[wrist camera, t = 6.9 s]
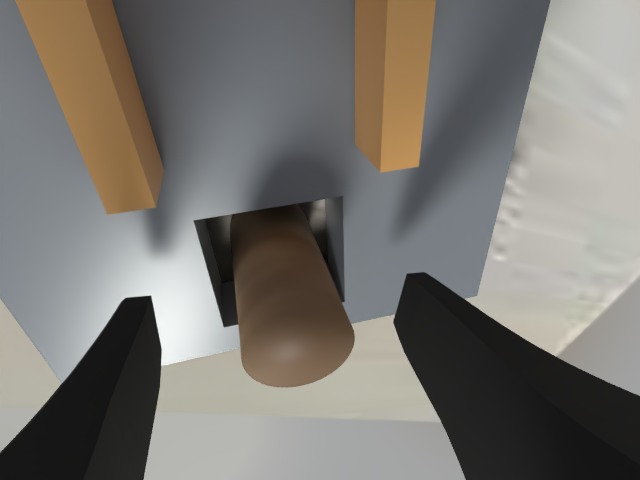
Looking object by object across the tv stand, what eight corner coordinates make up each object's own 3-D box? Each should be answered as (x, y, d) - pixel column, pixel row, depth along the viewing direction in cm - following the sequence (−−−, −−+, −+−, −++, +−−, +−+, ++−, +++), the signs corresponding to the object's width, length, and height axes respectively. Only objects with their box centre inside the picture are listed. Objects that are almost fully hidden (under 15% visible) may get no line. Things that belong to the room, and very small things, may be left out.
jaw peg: (228, 261, 15) (239, 392, 10) (230, 193, 14) (244, 311, 9) (302, 260, 16) (343, 381, 11) (312, 196, 14) (365, 304, 10)
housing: (-135, -31, 9) (-240, -34, 7) (503, -63, 11) (568, -72, 9) (83, 334, 15) (64, 387, 13) (446, 260, 18) (476, 295, 16)
